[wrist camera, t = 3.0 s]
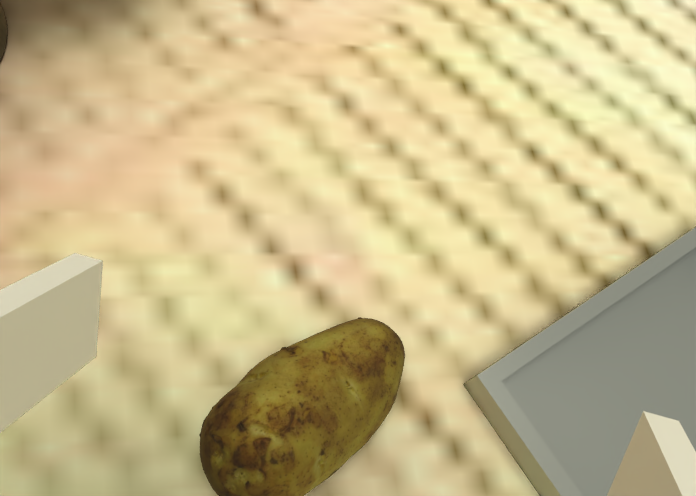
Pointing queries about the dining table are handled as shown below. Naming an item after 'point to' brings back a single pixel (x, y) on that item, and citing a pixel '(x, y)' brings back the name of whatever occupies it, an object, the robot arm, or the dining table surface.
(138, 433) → the dining table surface
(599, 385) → the tray
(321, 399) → the potato
